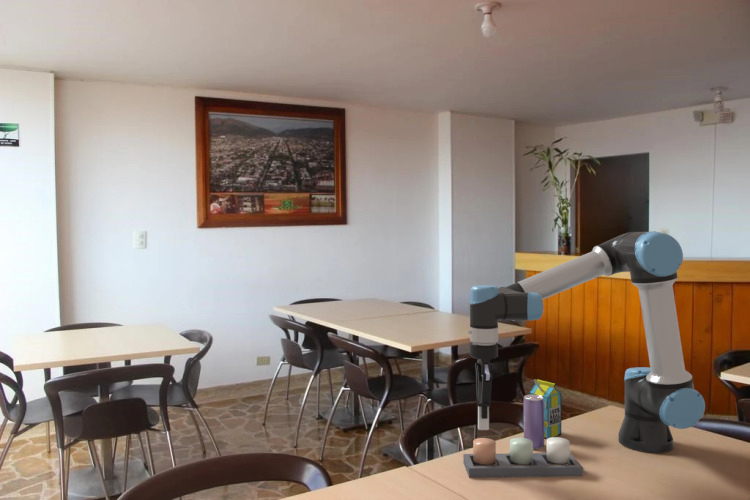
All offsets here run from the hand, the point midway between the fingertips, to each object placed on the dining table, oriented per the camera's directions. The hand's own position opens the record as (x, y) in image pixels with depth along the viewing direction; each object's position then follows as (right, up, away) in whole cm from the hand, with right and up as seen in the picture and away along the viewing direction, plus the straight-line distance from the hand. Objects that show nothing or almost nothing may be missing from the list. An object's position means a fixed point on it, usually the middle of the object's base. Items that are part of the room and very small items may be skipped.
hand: (483, 428), depth 159 cm
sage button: (+10, -8, 0) cm, 13 cm away
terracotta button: (0, -9, 0) cm, 9 cm away
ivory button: (+20, -8, 0) cm, 22 cm away
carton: (+24, -10, +27) cm, 38 cm away
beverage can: (+18, -11, +17) cm, 27 cm away
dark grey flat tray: (+10, -11, 0) cm, 15 cm away
